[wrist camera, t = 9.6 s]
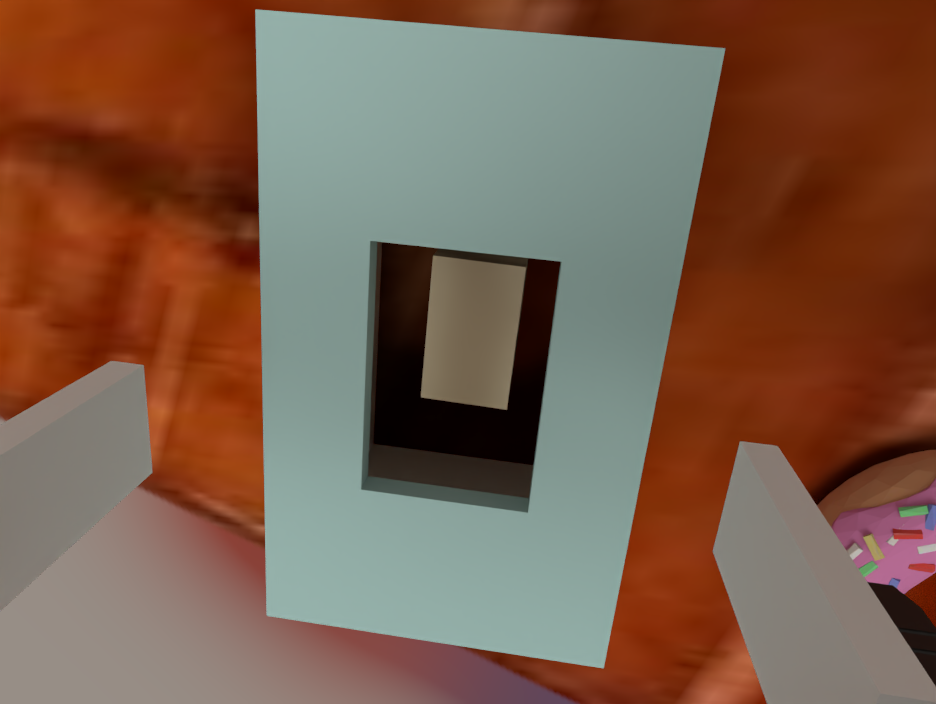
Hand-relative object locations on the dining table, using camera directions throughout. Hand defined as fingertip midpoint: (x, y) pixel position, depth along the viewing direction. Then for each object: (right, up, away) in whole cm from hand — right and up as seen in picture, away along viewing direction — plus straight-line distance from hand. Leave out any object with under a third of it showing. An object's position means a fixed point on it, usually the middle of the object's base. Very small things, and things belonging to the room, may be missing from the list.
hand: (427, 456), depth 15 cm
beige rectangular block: (+2, +5, +14) cm, 15 cm away
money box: (+2, +5, +14) cm, 15 cm away
